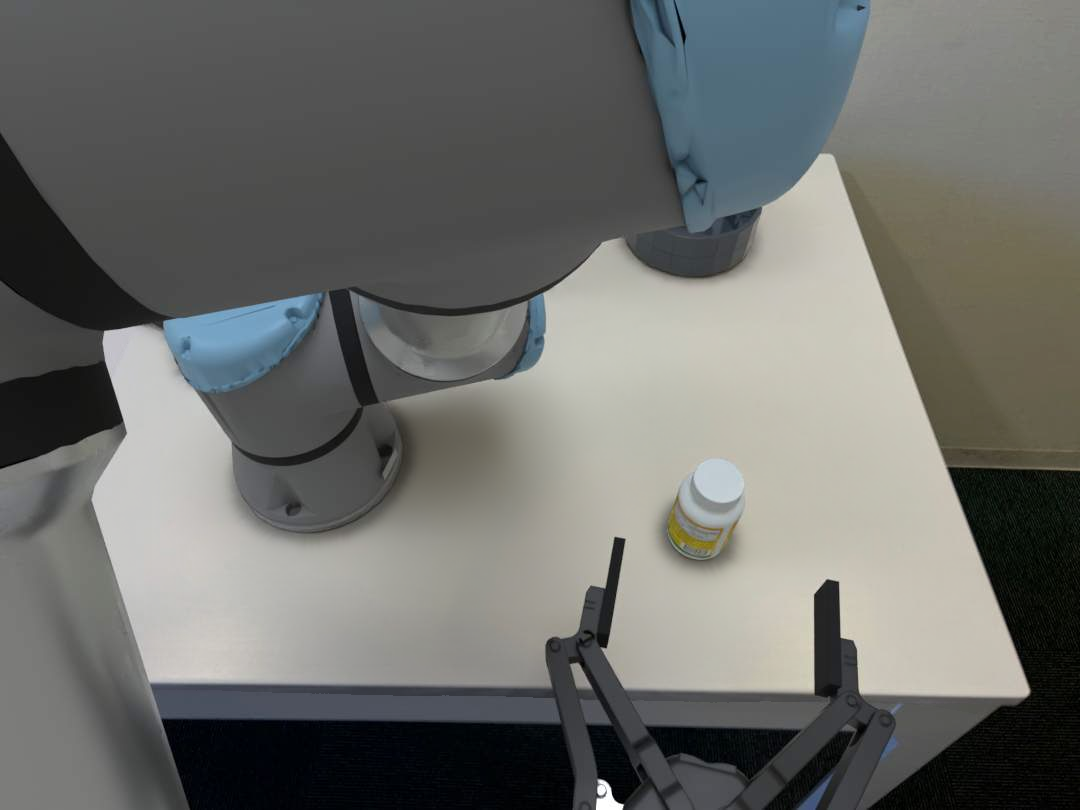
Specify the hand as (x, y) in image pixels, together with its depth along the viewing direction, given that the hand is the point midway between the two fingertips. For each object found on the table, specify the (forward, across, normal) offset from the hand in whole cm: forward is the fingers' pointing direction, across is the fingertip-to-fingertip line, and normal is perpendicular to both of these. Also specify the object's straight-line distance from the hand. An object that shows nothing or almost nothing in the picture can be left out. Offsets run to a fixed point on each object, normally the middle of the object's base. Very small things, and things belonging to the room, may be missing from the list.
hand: (720, 566), depth 46 cm
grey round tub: (+48, -5, -13) cm, 50 cm away
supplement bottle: (+9, 0, -14) cm, 16 cm away
